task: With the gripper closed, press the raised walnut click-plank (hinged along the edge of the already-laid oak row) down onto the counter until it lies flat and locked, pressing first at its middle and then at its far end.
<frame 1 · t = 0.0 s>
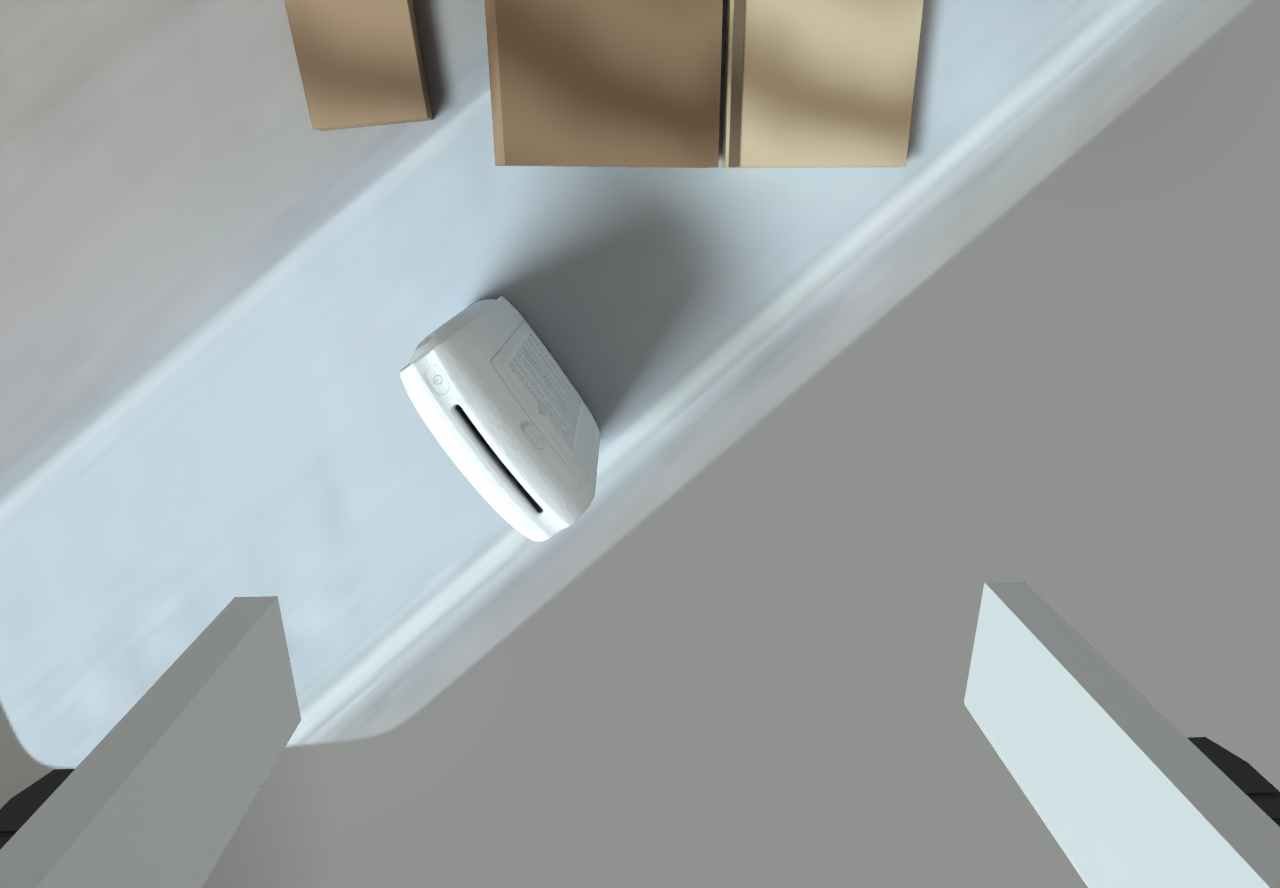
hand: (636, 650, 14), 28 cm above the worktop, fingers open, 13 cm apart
photo printer: (527, 379, 41), on the worktop
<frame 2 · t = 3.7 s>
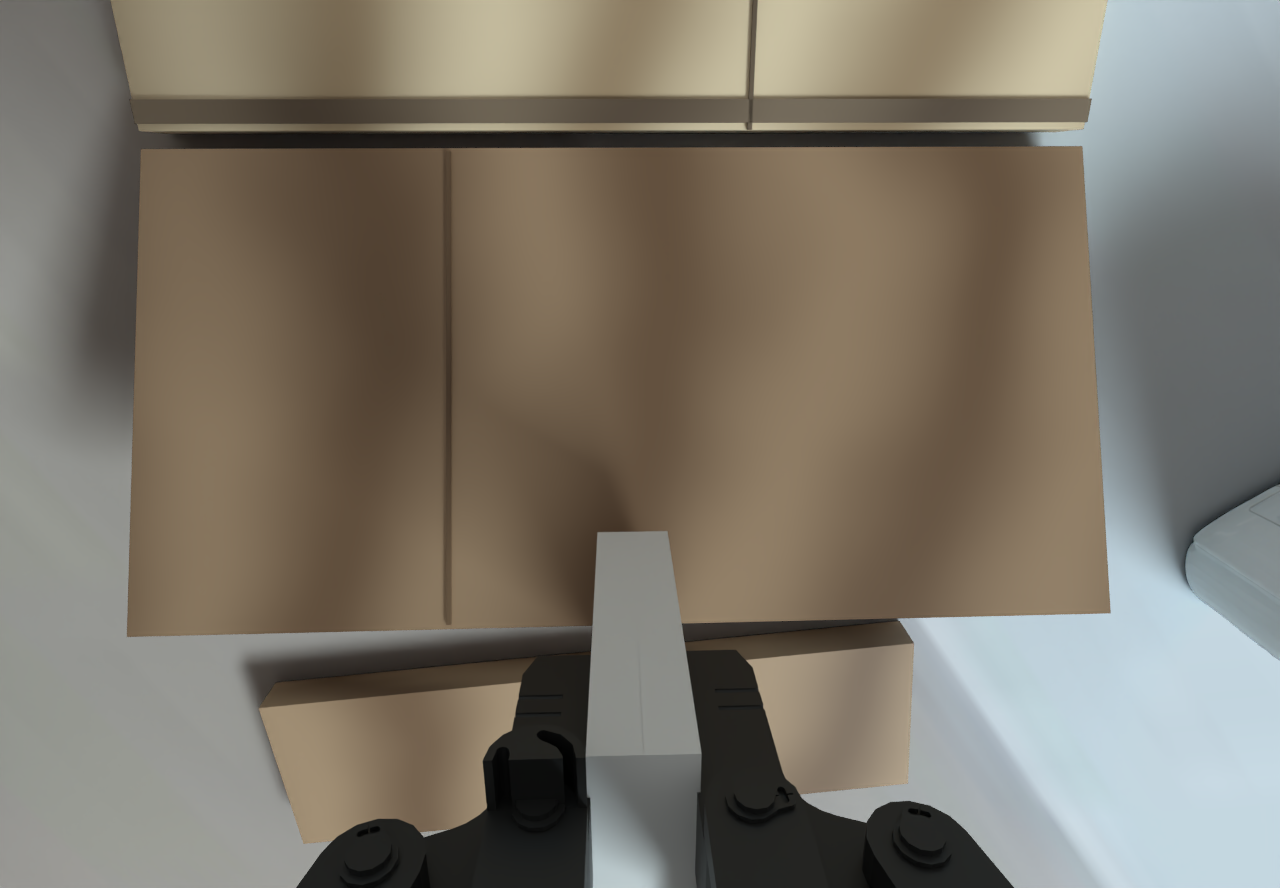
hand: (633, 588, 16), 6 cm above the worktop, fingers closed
plank: (625, 384, 17), point 3 cm above the worktop, hinge at 23.9°, touching gripper
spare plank: (597, 721, 24), on the worktop
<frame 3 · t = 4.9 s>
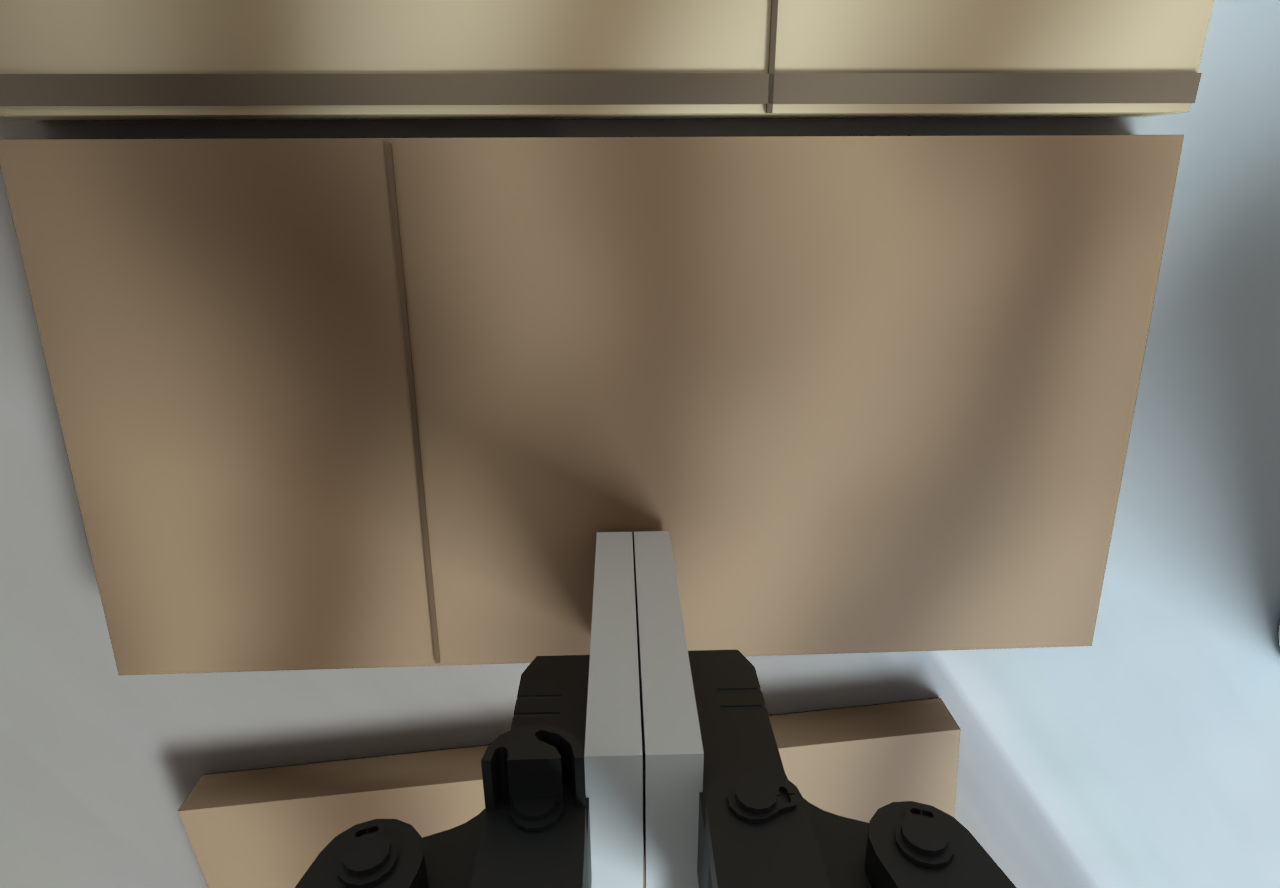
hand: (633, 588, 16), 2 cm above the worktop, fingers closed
plank: (612, 418, 16), point 1 cm above the worktop, hinge at 4.1°, touching gripper
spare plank: (584, 814, 21), on the worktop
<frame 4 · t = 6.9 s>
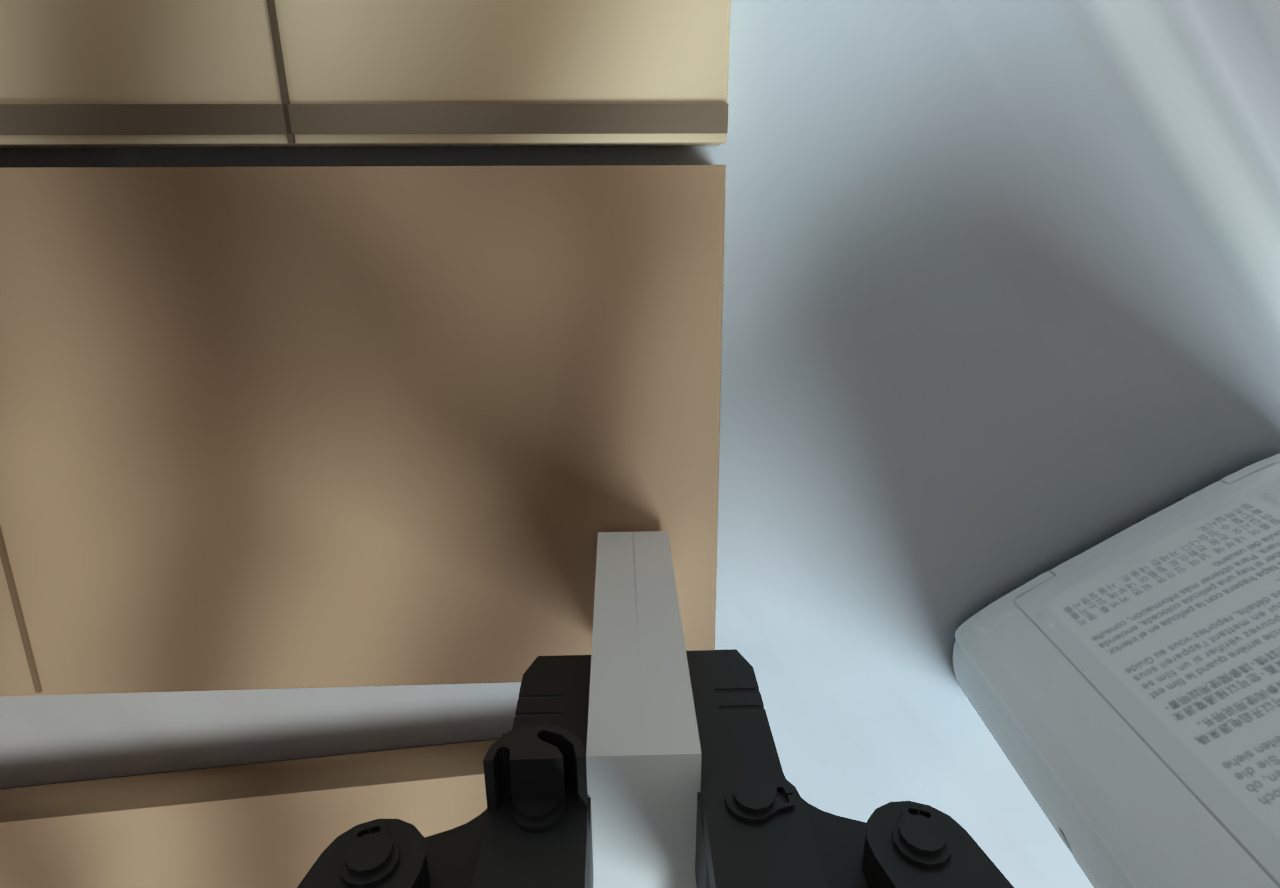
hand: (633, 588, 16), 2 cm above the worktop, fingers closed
plank: (197, 446, 16), point 1 cm above the worktop, hinge at 3.9°, touching gripper
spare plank: (268, 843, 20), on the worktop
photo printer: (1127, 582, 19), on the worktop
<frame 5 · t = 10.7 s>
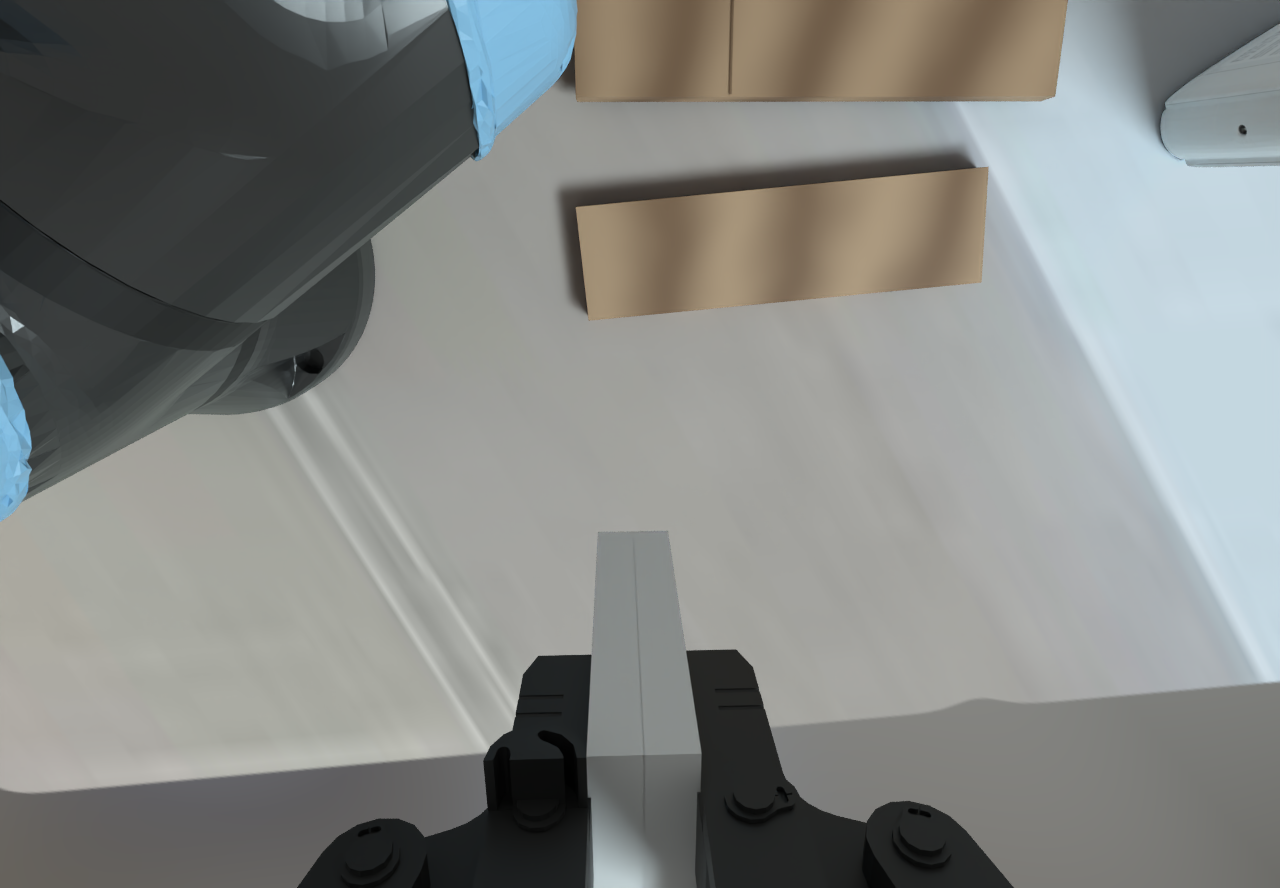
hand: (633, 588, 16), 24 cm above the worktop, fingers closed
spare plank: (778, 243, 37), on the worktop
photo printer: (1254, 81, 36), on the worktop
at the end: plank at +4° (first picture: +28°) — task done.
